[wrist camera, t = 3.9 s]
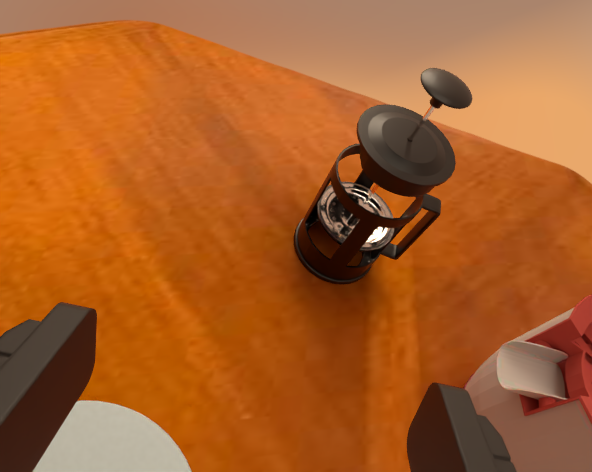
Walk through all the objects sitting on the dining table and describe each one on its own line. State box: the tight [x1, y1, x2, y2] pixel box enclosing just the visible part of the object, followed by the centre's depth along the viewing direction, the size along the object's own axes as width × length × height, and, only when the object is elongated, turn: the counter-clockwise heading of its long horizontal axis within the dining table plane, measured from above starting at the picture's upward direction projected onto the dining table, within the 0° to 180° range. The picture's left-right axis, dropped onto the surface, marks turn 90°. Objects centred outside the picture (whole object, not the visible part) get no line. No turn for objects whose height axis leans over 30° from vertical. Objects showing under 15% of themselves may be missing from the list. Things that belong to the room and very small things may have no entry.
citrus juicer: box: [463, 295, 592, 472], centre depth 37 cm, size 16×17×20 cm
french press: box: [294, 68, 472, 284], centre depth 42 cm, size 12×9×23 cm
